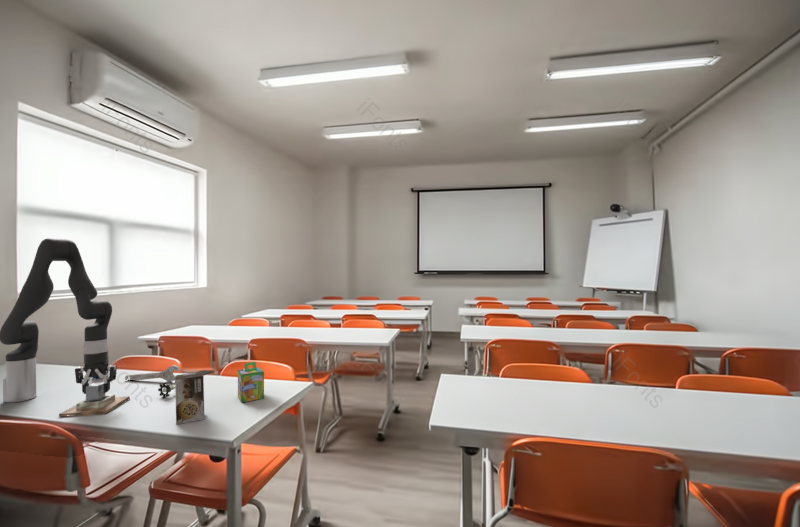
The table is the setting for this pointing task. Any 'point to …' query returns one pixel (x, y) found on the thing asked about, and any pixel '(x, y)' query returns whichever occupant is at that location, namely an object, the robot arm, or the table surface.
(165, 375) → the wrench
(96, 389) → the block
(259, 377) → the chalk box
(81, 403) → the collar base
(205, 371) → the phone
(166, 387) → the valve
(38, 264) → the robot arm
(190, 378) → the printed cardboard box
